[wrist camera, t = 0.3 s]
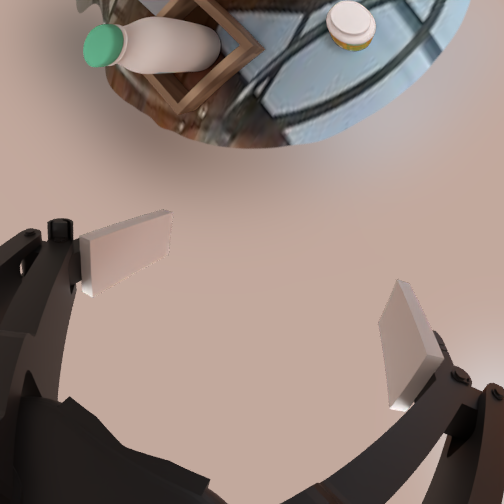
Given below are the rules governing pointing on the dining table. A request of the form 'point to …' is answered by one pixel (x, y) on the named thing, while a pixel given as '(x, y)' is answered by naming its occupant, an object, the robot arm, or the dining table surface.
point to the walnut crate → (249, 48)
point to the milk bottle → (153, 46)
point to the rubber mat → (154, 5)
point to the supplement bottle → (351, 25)
